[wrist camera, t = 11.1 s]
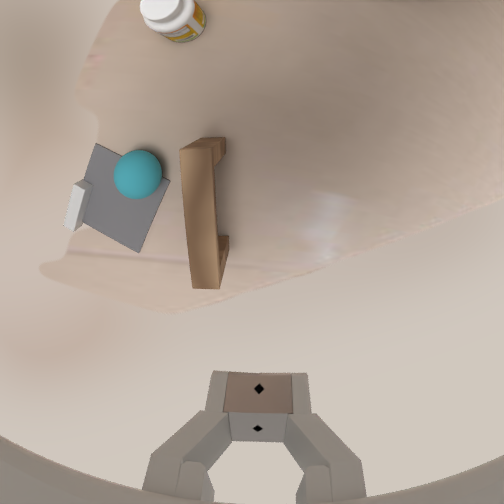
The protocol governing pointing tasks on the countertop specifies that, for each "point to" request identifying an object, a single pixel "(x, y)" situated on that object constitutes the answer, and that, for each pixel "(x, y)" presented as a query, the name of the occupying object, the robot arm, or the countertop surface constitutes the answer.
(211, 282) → the bridge
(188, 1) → the supplement bottle
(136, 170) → the ball
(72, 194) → the wall
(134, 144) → the countertop surface
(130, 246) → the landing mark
